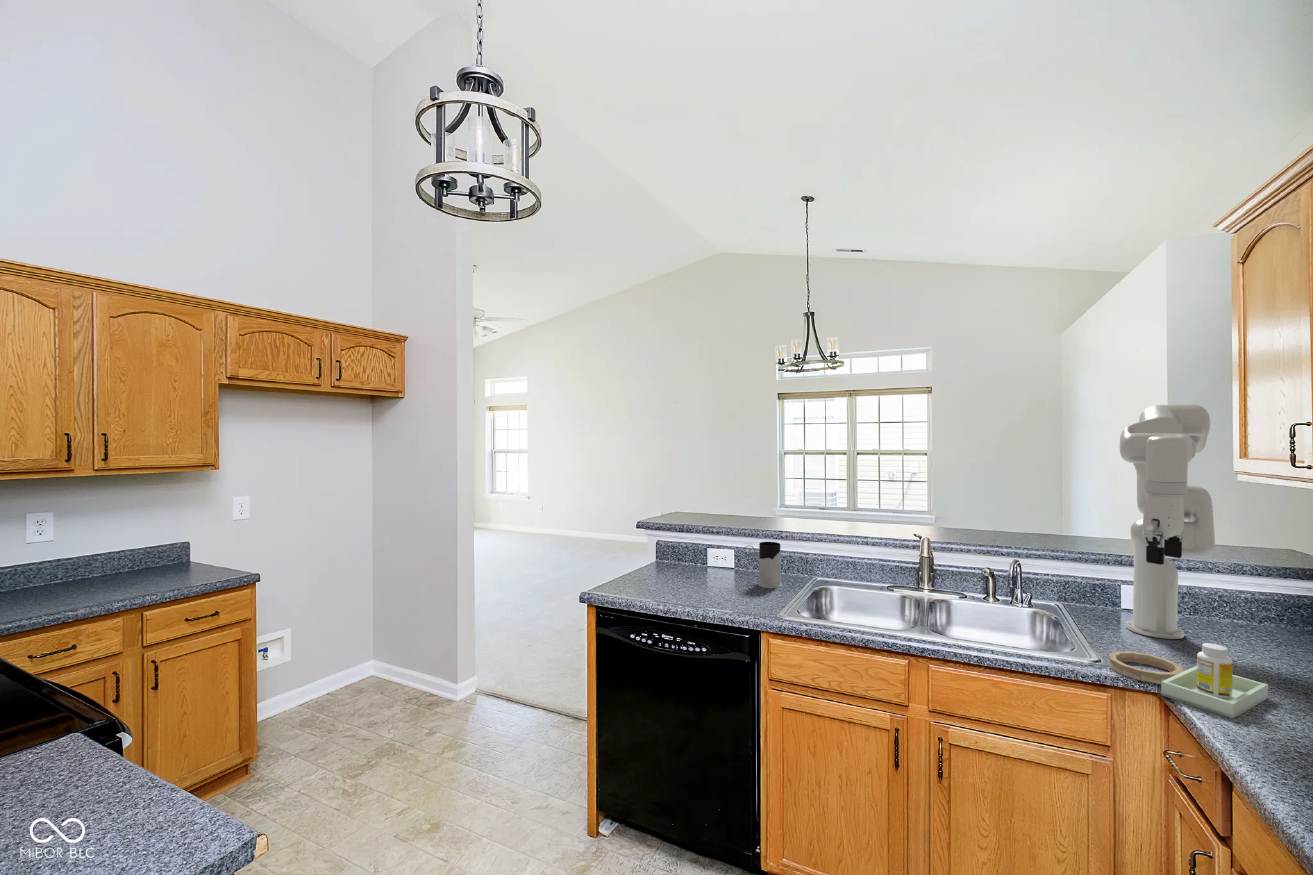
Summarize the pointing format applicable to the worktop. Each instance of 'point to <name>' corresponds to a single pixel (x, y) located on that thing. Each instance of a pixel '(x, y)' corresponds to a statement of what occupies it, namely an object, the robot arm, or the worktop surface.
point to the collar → (1142, 658)
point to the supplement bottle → (1214, 671)
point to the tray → (1186, 691)
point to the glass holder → (768, 564)
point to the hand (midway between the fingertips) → (1163, 560)
